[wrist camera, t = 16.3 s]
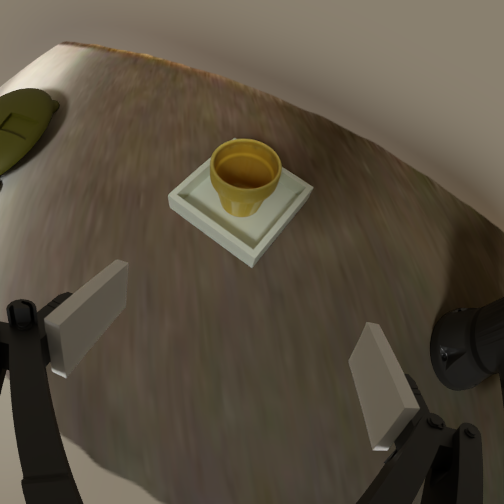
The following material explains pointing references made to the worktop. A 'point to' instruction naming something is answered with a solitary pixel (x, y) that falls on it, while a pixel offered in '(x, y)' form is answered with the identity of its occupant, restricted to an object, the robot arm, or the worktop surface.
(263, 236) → the tray
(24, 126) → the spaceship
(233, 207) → the plant pot
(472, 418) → the worktop surface
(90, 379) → the worktop surface
